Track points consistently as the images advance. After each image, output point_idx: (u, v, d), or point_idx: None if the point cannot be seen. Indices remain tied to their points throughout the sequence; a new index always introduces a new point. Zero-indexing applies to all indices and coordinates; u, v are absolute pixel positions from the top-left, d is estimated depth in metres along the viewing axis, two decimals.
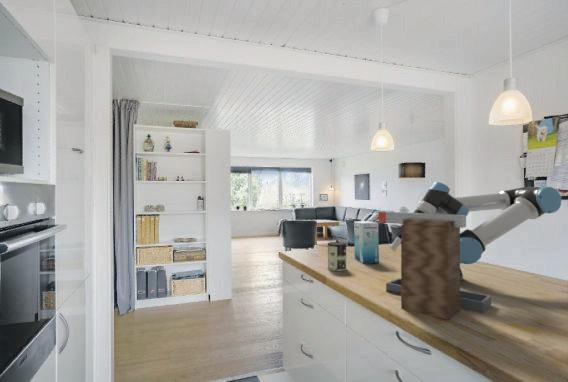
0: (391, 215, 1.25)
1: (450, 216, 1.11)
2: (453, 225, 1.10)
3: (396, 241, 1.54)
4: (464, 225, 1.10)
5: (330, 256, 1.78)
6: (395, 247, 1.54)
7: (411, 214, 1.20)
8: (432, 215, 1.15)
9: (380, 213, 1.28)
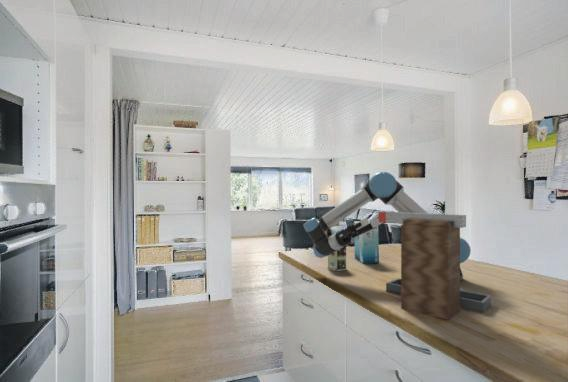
0: (391, 215, 1.25)
1: (450, 216, 1.11)
2: (453, 225, 1.10)
3: (375, 224, 1.50)
4: (464, 225, 1.10)
5: (330, 256, 1.78)
6: None
7: (411, 214, 1.20)
8: (432, 215, 1.15)
9: (380, 213, 1.28)
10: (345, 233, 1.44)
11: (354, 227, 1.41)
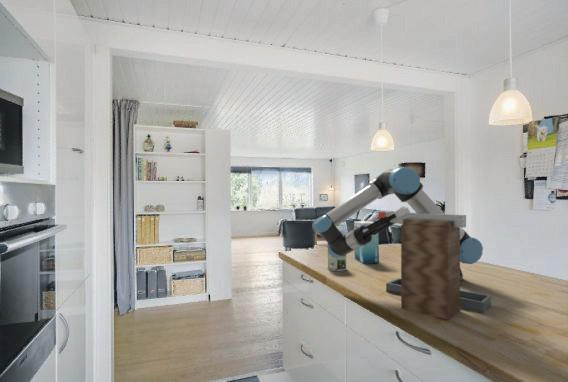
0: None
1: (450, 216, 1.11)
2: (453, 225, 1.10)
3: None
4: (464, 225, 1.10)
5: (330, 256, 1.78)
6: (404, 211, 1.26)
7: (411, 214, 1.20)
8: (432, 215, 1.15)
9: (380, 213, 1.28)
10: (373, 227, 1.26)
11: (387, 219, 1.24)
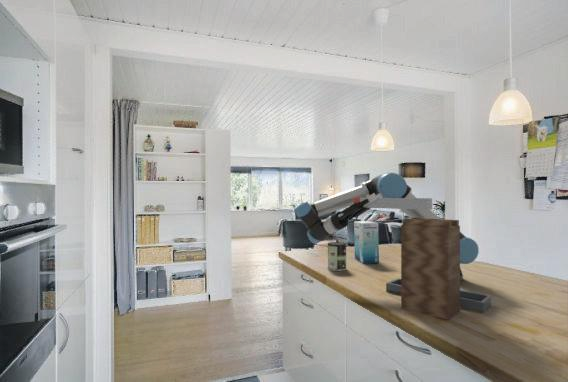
0: None
1: (417, 199, 1.18)
2: (420, 207, 1.17)
3: None
4: (430, 207, 1.17)
5: (330, 256, 1.78)
6: (377, 197, 1.33)
7: (382, 198, 1.27)
8: (401, 199, 1.22)
9: (355, 199, 1.35)
10: (348, 211, 1.33)
11: (361, 204, 1.31)
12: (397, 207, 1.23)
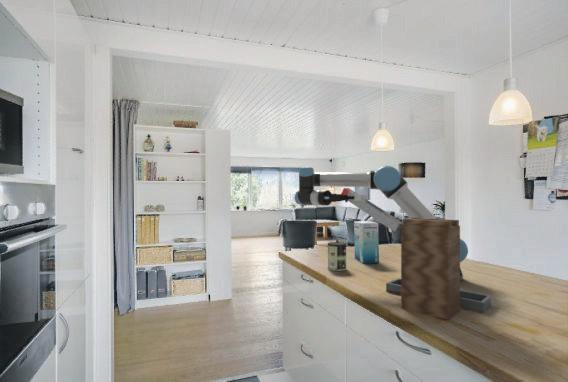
0: None
1: (391, 219, 1.34)
2: (389, 227, 1.34)
3: None
4: (397, 230, 1.34)
5: (330, 256, 1.78)
6: (363, 196, 1.48)
7: (365, 203, 1.42)
8: (379, 212, 1.38)
9: (344, 189, 1.50)
10: (333, 198, 1.49)
11: (346, 198, 1.46)
12: (373, 216, 1.40)
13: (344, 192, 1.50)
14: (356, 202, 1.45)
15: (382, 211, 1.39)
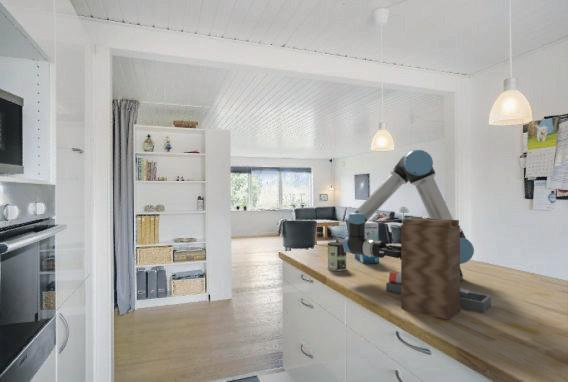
0: None
1: None
2: None
3: None
4: None
5: (330, 256, 1.78)
6: None
7: None
8: None
9: (391, 274, 1.40)
10: (388, 254, 1.36)
11: None
12: None
13: (392, 276, 1.40)
14: None
15: None
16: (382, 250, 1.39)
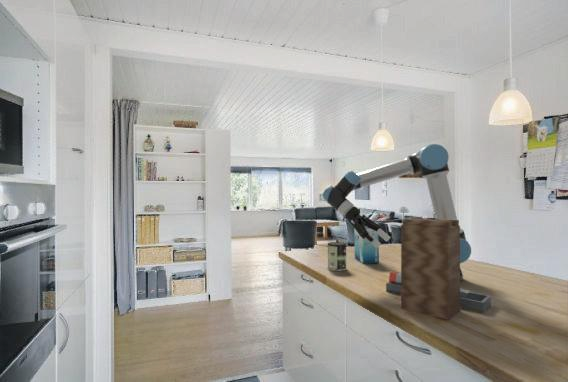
0: None
1: None
2: None
3: (380, 234, 1.55)
4: None
5: (330, 256, 1.78)
6: (386, 236, 1.54)
7: None
8: None
9: (391, 274, 1.40)
10: (356, 228, 1.46)
11: (366, 236, 1.44)
12: None
13: (392, 276, 1.40)
14: None
15: None
16: (354, 221, 1.48)
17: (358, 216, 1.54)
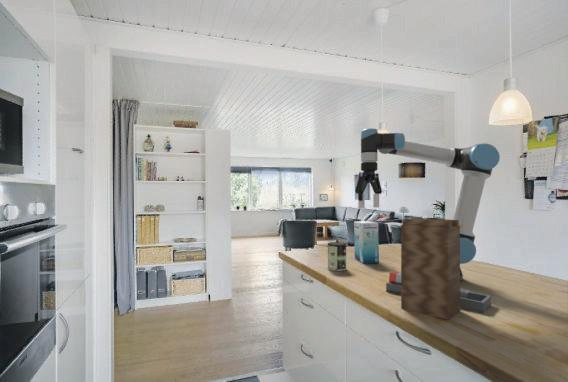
0: None
1: None
2: None
3: (374, 198, 1.58)
4: None
5: (330, 256, 1.78)
6: (376, 203, 1.57)
7: None
8: None
9: (391, 274, 1.40)
10: (359, 181, 1.48)
11: (359, 194, 1.47)
12: None
13: (392, 276, 1.40)
14: None
15: None
16: (362, 175, 1.48)
17: (371, 172, 1.53)
